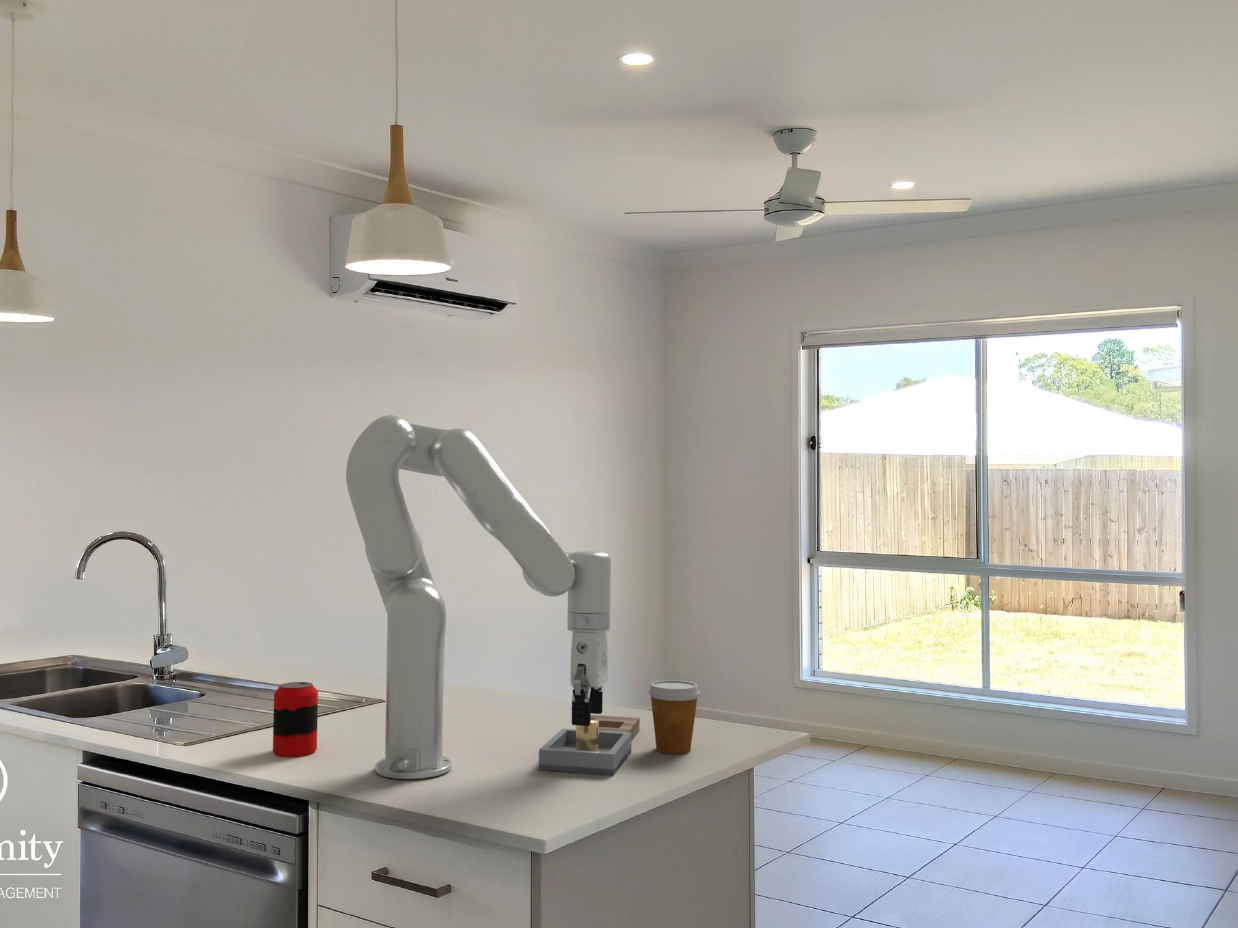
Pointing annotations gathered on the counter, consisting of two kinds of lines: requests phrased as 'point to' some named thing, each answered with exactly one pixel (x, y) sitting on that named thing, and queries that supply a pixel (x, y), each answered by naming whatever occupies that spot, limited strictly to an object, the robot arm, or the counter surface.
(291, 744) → the soda can
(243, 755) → the counter surface
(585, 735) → the pin
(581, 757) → the slate tray
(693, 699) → the disposable coffee cup
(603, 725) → the block
